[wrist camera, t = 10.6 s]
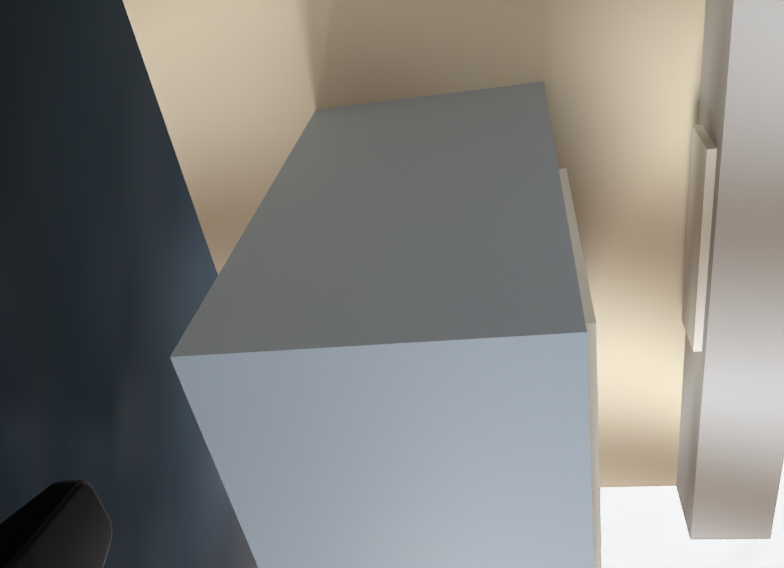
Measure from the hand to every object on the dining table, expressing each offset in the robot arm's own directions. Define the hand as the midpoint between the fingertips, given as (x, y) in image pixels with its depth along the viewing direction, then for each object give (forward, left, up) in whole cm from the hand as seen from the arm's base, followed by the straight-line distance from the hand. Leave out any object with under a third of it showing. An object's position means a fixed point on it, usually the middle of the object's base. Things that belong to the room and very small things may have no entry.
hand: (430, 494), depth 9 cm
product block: (0, 0, -6) cm, 6 cm away
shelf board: (0, 0, -7) cm, 7 cm away
